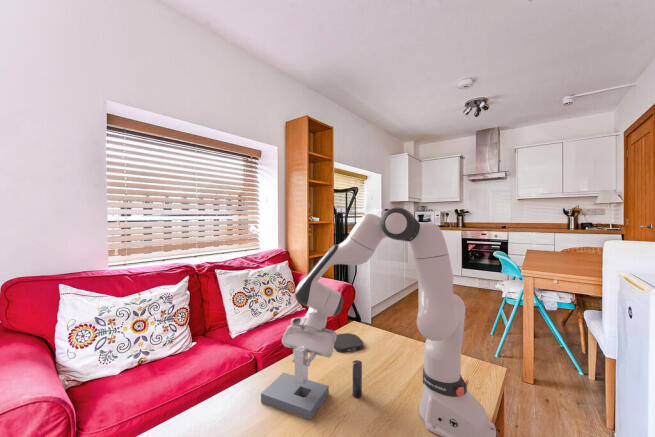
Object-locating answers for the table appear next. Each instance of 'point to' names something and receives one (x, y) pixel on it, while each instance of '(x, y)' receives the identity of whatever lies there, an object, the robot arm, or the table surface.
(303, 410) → the socket board
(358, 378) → the round bit
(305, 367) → the square bit
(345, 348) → the media streaming box
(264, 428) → the table surface
